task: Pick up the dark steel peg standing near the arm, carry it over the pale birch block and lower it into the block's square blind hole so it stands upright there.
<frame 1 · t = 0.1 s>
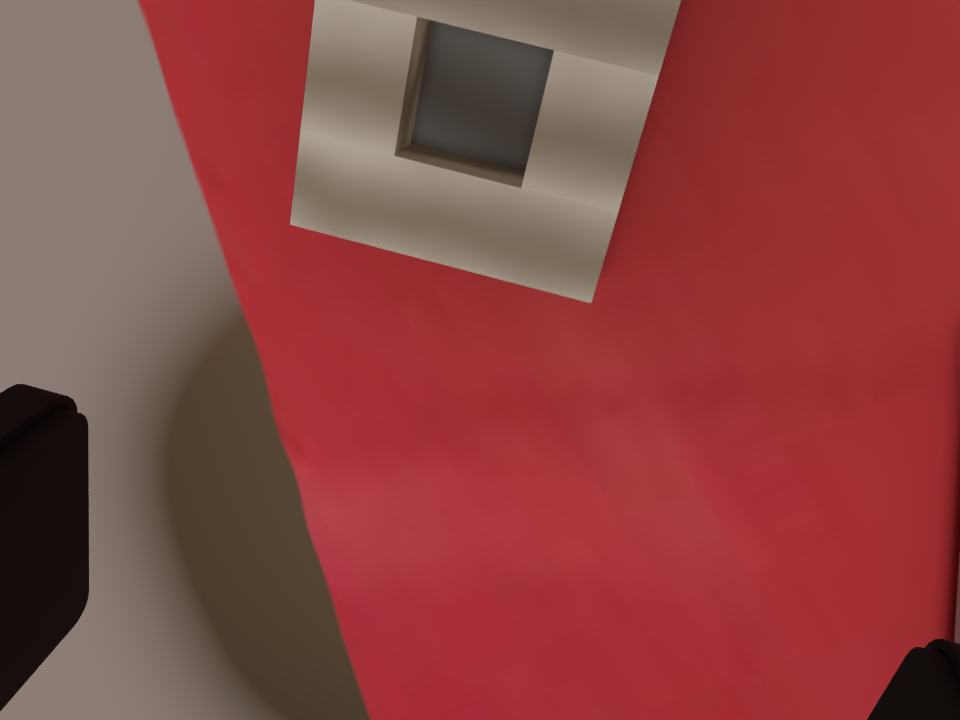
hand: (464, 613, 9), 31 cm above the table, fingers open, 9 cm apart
socket block: (486, 93, 37), on the table
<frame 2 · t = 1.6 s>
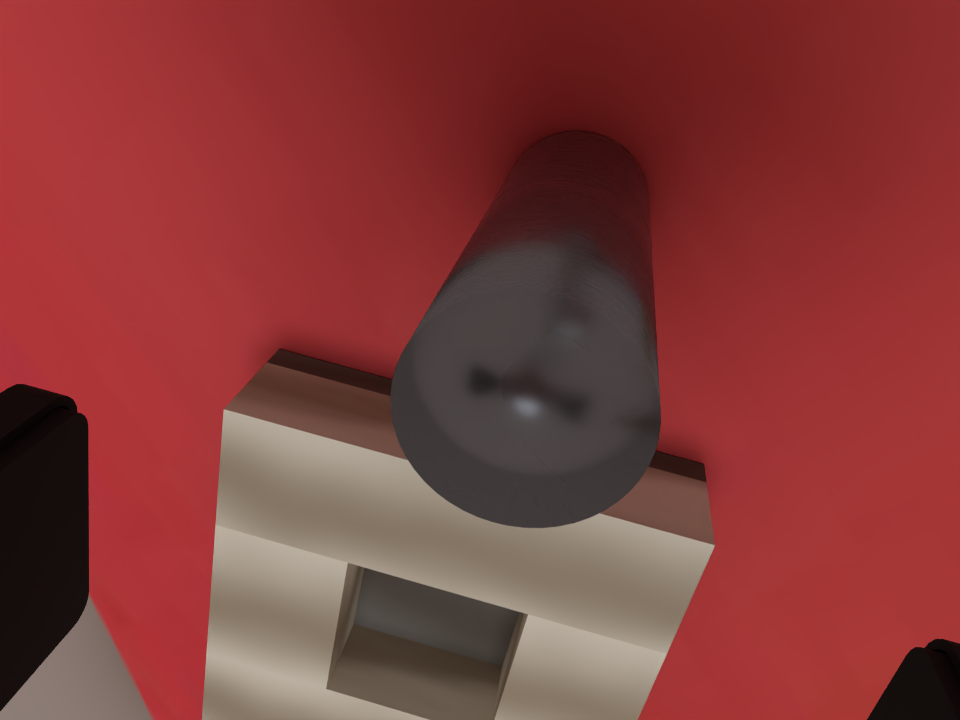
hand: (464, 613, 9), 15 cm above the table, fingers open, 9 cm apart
socket block: (447, 569, 29), on the table
steel peg: (575, 203, 23), on the table
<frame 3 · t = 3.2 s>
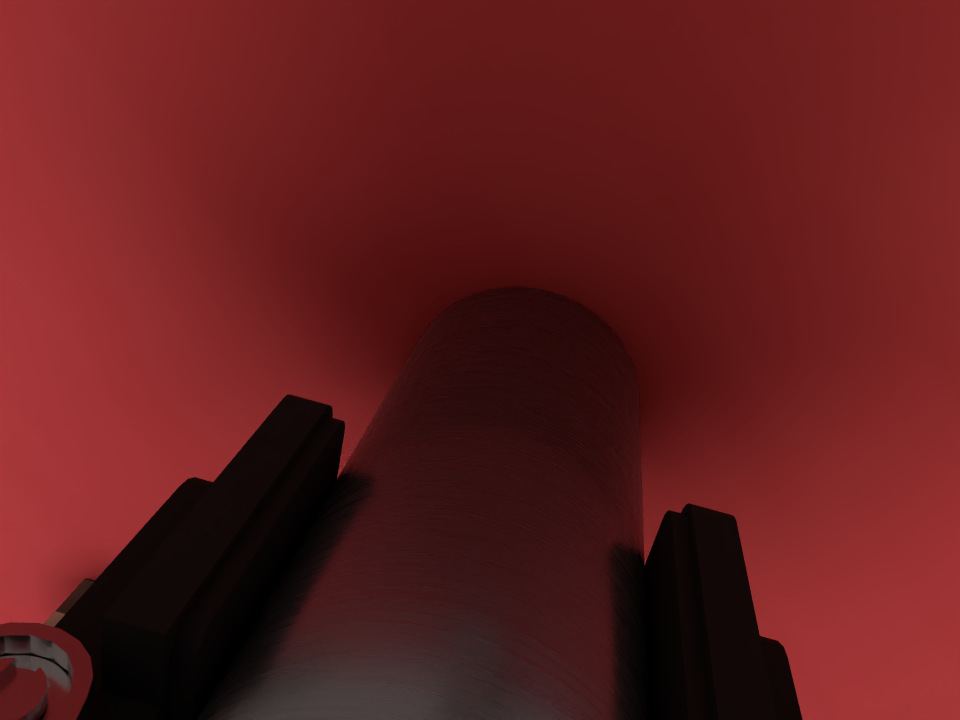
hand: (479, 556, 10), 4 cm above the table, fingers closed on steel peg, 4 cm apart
steel peg: (520, 397, 14), on the table, touching gripper
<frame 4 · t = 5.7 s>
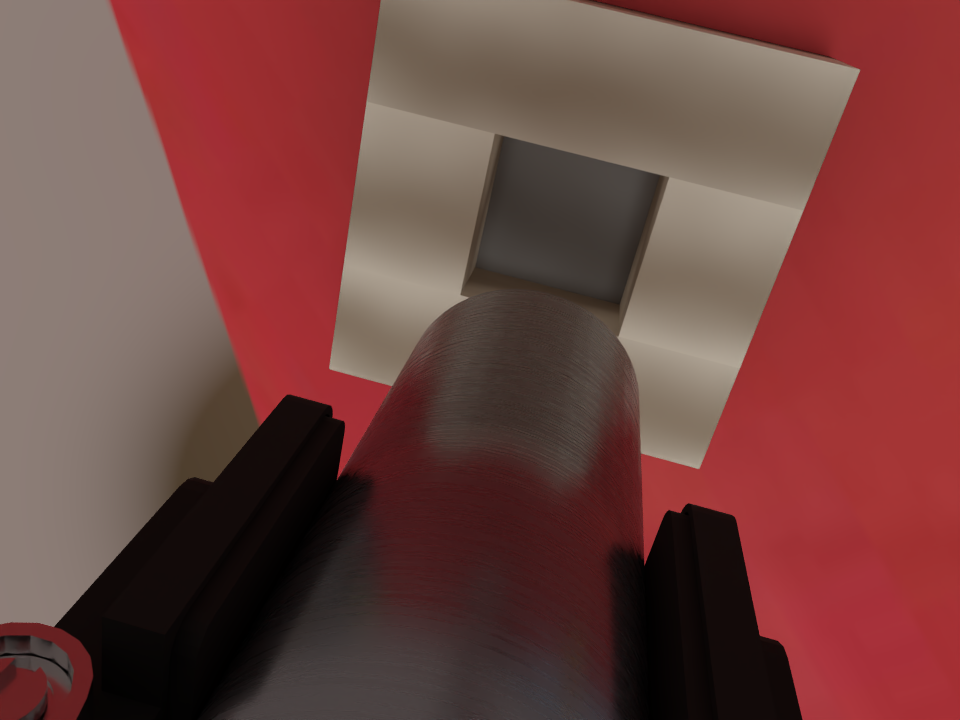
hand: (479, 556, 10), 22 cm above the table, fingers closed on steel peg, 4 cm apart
socket block: (567, 207, 30), on the table
steel peg: (520, 399, 14), point 18 cm above the table, touching gripper
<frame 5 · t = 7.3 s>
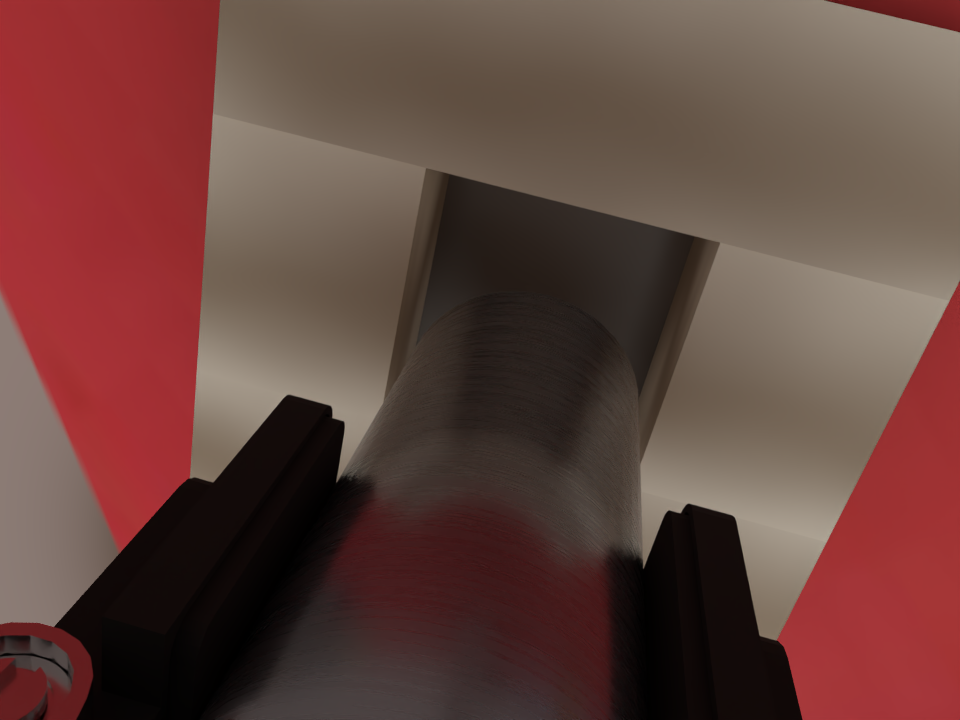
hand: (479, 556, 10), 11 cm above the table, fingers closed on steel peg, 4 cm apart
socket block: (552, 275, 20), on the table
steel peg: (519, 401, 14), point 7 cm above the table, touching gripper
when the fingers open (6 cm above the table, at t = 8.6 s): steel peg stays where it is, resting on socket block.
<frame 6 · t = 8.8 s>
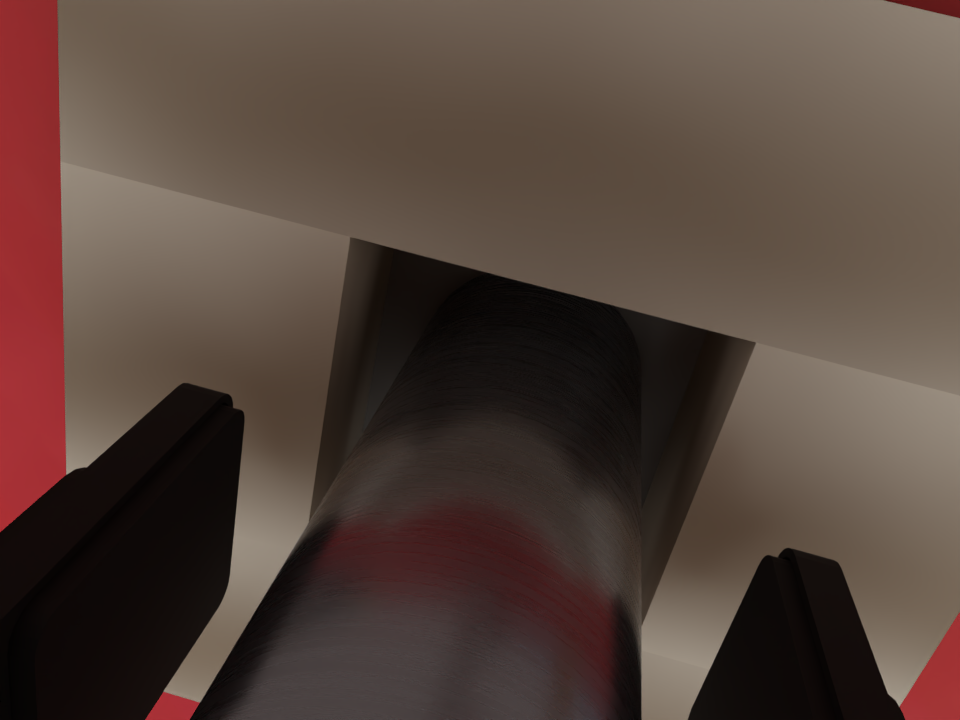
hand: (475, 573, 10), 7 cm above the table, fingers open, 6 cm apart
socket block: (532, 352, 16), on the table
steel peg: (528, 372, 15), point 1 cm above the table, touching socket block
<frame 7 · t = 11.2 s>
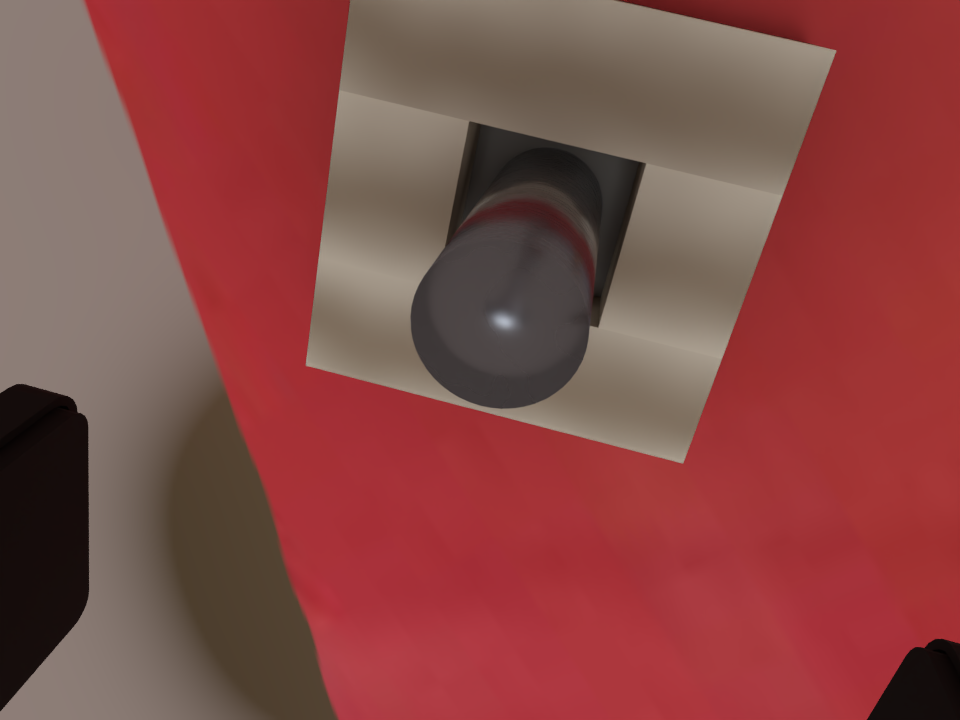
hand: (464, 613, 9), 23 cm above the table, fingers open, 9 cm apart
socket block: (546, 200, 30), on the table
steel peg: (545, 204, 29), point 1 cm above the table, touching socket block
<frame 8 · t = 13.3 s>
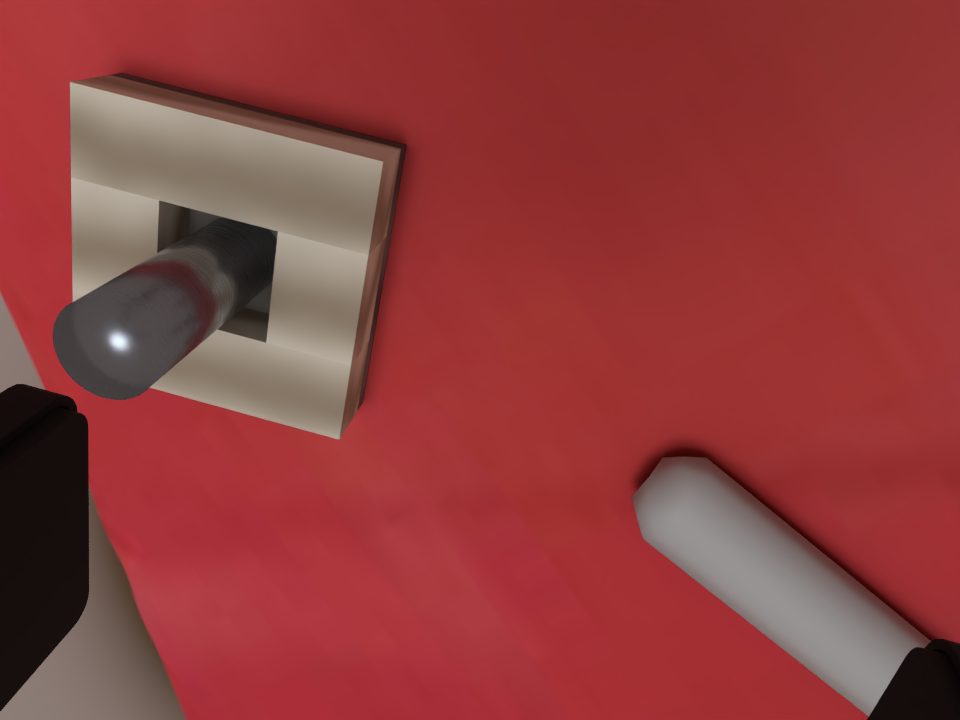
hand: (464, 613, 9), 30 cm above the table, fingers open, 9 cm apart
socket block: (250, 248, 41), on the table
tube: (817, 588, 45), on the table
steel peg: (242, 253, 40), point 1 cm above the table, touching socket block
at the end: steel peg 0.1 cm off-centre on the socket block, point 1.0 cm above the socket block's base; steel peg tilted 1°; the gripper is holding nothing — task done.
